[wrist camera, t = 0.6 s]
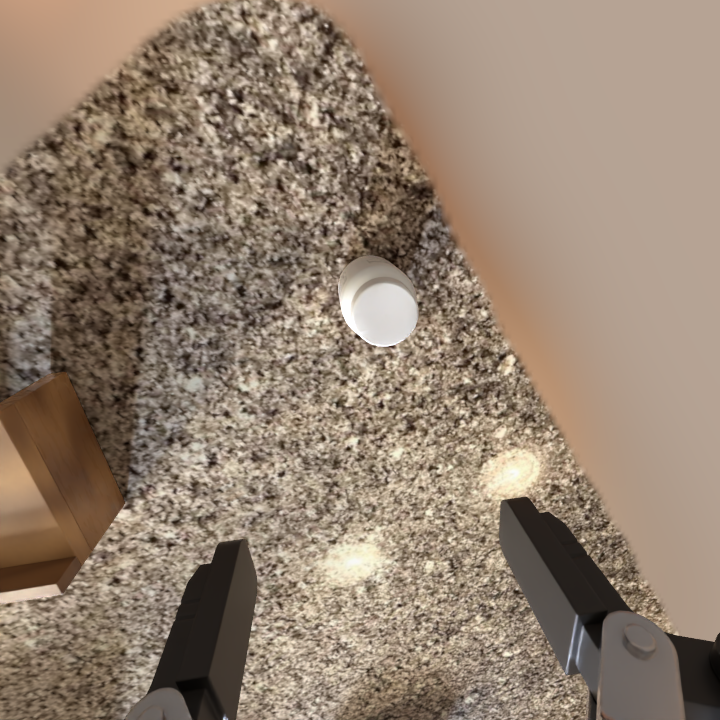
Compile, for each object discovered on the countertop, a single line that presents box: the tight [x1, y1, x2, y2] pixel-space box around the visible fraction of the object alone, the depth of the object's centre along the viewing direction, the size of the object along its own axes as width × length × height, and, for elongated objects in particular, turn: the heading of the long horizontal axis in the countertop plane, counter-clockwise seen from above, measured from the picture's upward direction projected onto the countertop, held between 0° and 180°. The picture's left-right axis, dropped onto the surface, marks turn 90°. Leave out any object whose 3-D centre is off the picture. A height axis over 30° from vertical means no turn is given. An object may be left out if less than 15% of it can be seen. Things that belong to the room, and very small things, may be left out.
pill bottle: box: [338, 255, 419, 346], centre depth 22 cm, size 4×4×8 cm
